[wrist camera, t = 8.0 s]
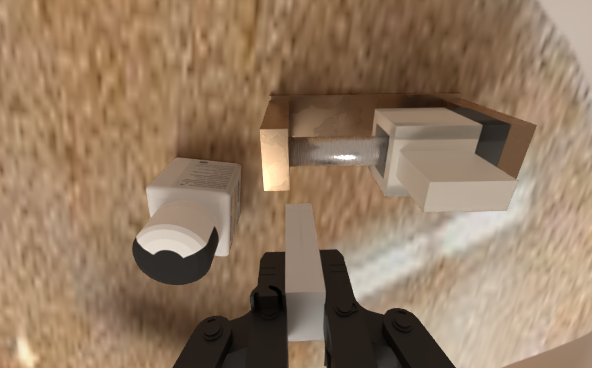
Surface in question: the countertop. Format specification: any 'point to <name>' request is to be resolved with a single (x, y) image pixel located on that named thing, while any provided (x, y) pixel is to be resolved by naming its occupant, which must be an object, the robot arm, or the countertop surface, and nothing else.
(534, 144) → the countertop surface
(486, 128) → the dark grey block
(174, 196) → the container
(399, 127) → the stepped block with cap
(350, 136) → the rod stand
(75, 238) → the countertop surface
